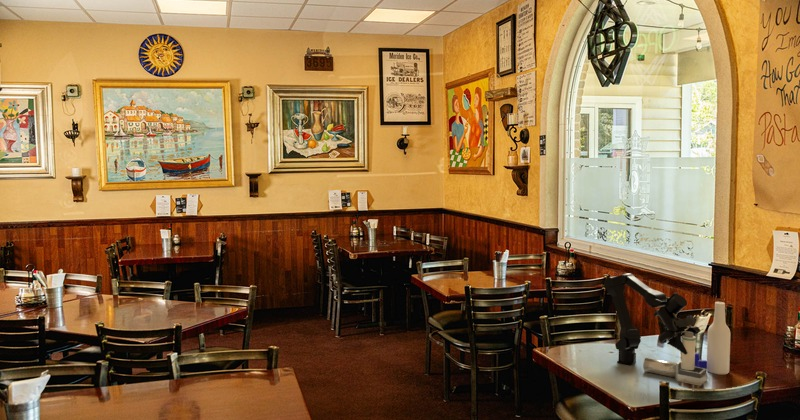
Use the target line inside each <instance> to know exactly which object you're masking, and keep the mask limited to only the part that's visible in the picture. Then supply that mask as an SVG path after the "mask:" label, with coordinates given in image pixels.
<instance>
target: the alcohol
mask: <svg viewBox="0 0 800 420" xmlns="http://www.w3.org/2000/svg"><path fill="white" fill-rule="evenodd" d="M713 313H714V314H713V321H712V323H711V324H710V325H709V327H708V329H707V340H706V342H707V345H706V361H707V372H708V373H710V374H714V375H723V376H724V375H727V374H728V373H729V372H730V362H731V359H730V358H731V356H730V355H731V330H730V328H729V326H728V325H727V323H726V303H725V302H724V301H723V302H722V301H715V302H714V312H713Z"/></svg>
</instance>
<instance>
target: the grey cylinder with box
mask: <svg viewBox="0 0 800 420" xmlns="http://www.w3.org/2000/svg"><path fill="white" fill-rule="evenodd" d="M642 368H643V371H644V372H646V373H651V374H656V375H661V376H666V377H670V378H675V381H677V382H679V383H685V384H690V385H695V386H699V387H701V386H702V385H704V383H705V382H706V381H708V373H706V372H708V370H707V369H705V368H700V367H694V370H685V369H682V368H681V359H679V361H677V362H675V361H673V362H672V361H668V360H662V359H657V358H652V357H645V358H644V360H643V367H642Z"/></svg>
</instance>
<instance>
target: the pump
mask: <svg viewBox="0 0 800 420" xmlns="http://www.w3.org/2000/svg"><path fill="white" fill-rule="evenodd" d="M696 338H697V337H696V336H693V332H685V335H682V336H681V342H682V344H683V345H684V347H685V349H686V351H687V354H684V353H682V352H681V351H680V352H681V353H680V354H681V358H680V360H681V368H682V369H685V370H694V367H695V346H696V340H697V339H696Z"/></svg>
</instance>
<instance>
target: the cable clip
mask: <svg viewBox="0 0 800 420" xmlns="http://www.w3.org/2000/svg"><path fill="white" fill-rule="evenodd" d="M695 367H700V368H705V369H707V359H706V360H705V359H700V354H699V353H698V352H696V353H695ZM707 372H708V371H707ZM707 372H706V373H707ZM707 374H708V373H707Z"/></svg>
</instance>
